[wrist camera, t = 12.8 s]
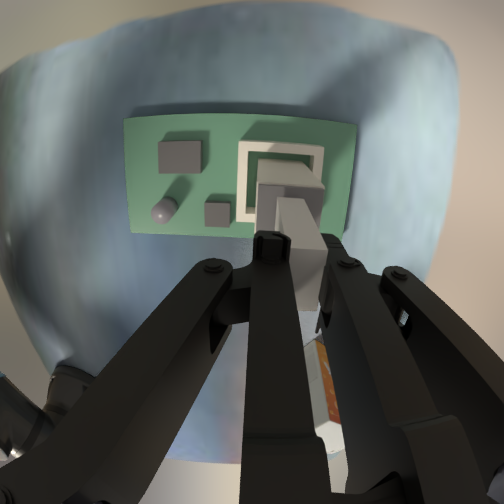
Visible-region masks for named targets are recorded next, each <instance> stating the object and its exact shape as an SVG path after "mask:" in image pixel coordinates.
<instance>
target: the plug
mask: <svg viewBox="0 0 504 504" xmlns="http://www.w3.org/2000/svg"><path fill="white" fill-rule="evenodd" d="M324 190H325V186H324V185H323V184H322V183H321V182H320V180H319V179H318V178H317V177H316V176H315V175H314V174H313V173H312V171H311V170H310V169H309V168H308V167H307V166H306V165H305V164H304V163H303V162H302V161H295V160H282V159H266V158H258V170H257V187H256V207H255V227H254V234H255V233H256V232H257V231H258V230H265V231H275V220H276V207H277V197H286V198H300V199H304V200H305V202H306V204H307V206H308V208H309V210H310V213H311V215H312V217H313V219H314V221H315V223H316V225H317V227H318V229H320V222H321V214H322V206H323V198H324Z"/></svg>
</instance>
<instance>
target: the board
mask: <svg viewBox="0 0 504 504" xmlns="http://www.w3.org/2000/svg"><path fill="white" fill-rule="evenodd" d="M123 131H124V160H125V177H126V190H127V201H128V211H129V220H130V229H131V233H153V234H177V235H200V236H222V237H242V238H254V227H255V207H256V187H257V170H258V158H266V159H282V160H295V161H302V162H303V163H304V164H305V165H306V166H307V167H308V168H309V169H310V170H311V171H312V173H313V174H314V175H315V176H316V177H317V178H318V179H319V180H320V182H321V183H322V184H323V185H324V186H325V190H324V198H323V206H322V214H321V222H320V229H319V231H320V233H328V234H333V235H335V236H336V237H338V238H339V240H340V241H341V242H342V236H343V230H344V224H345V218H346V212H347V206H348V199H349V192H350V185H351V177H352V170H353V161H354V153H355V143H356V133H357V125H355V124H348V123H342V122H335V121H327V120H319V119H311V118H301V117H290V116H277V115H261V114H232V113H203V114H174V115H157V116H145V117H134V118H125V119H123Z"/></svg>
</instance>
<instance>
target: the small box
mask: <svg viewBox="0 0 504 504" xmlns="http://www.w3.org/2000/svg"><path fill="white" fill-rule="evenodd" d="M304 354H305V361H306V367H307V374H308V381H309V389H310V396H311V404H312V411H313V419H314V427H315V432H316V434H317V436H319V437H322V439H323V441H324V443H325V448H326V452H327V453H329V454H333V453H335V452H338V451H340V450H342V449H344V448H345V445H344V439H343V433H342V428H341V422H340V417H339V411H338V406H337V401H336V396H335V391H334V386H333V381H332V376H331V372H330V367H329V362H328V358H327V353H326V348H325V345H323V344H321V343H320V342H318V341H317V340H315V339H314V340H313V341H311V342H310V343H309V344H308V345H306V346H305V347H304Z"/></svg>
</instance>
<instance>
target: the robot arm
mask: <svg viewBox="0 0 504 504" xmlns="http://www.w3.org/2000/svg"><path fill="white" fill-rule="evenodd" d="M318 301H319V302H320V306H321V308H320V312H319V317H318V321H317V326H316V331H315V333H318V331H319V329H320V328H321V331H322V335H323V340H324V344H325V348H326V353H327V358H328V362H329V367H330V372H331V376H332V381H333V386H334V391H335V396H336V401H337V406H338V411H339V417H340V422H341V428H342V433H343V439H344V445H345V451H346V456H347V463H348V477H347V481H346V487H345V494H344V493H332V492H331V484H330V476H329V468H328V460H327V452H326V448H325V443H324V441H323V439H322V437H319V436H317V434H316V432H315V427H314V419H313V411H312V404H311V396H310V389H309V381H308V374H307V367H306V361H305V354H304V347H303V341H302V334H301V328H300V322H299V316H298V311H317V306H318ZM404 310H405V311H406V313H407V314H408V315H409V316H408V319H407V321H406V323H405V325H403V324H402V323H401V322H400V319H401V317H402V314H403V312H404ZM243 322H249V334H248V352H247V370H246V389H245V407H244V425H243V441H242V459H241V477H240V495H239V504H504V362H503V361H502V360H501V359H500V357H498V355H497V354H496V353H495V352H494V351H493V350H492V349H491V348H490V347H489V346H488V345H487V344H486V343H485V342H484V340H483V339H482V338H481V337H480V336H479V335H478V334H477V333H476V332H475V331H474V330H473V329H471V327H469V325H468V324H467V323H466V322H465V321H464V320H462V318H460V317H459V316H458V315H457V314H456V313H455V312H454V311H453V310H452V309H451V308H450V307H449V306H448V305H447V304H445V302H444V301H443V300H441V299H440V298H439V297H438V296H437V295H436V294H435V293H434V292H433V291H431V290H430V289H429V288H428V287H427V286H426V285H425V284H424V283H423V282H421V281H420V280H419V279H418V278H417V277H416V276H415V275H413V274H412V273H411V272H409V271H408V270H406V269H404V268H403V267H400V266H399V267H398V266H389V267H386V268H385V269H384V270H383V273H382V276H380V275H375V274H371V273H368V272H367V270H366V269H365V267H364V265H363V264H362V263H361V262H360V261H359V260H357V259H355V258H352V257H349V255H348V254H347V252H346V250H345V248H344V247H343V245H342V243H341V241H340V240H339V238H338V237H336V236H335V235H333V234H328V233H320V231H319V229H318V227H317V225H316V223H315V221H314V219H313V217H312V215H311V213H310V210H309V208H308V206H307V204H306V202H305V200H304V199H300V198H286V197H277V207H276V220H275V231H265V230H258V231H257V232H256V233H255V234H254V240H253V260H252V262H251V263H250V264H249V265H247V266H245V267H242V268H237V269H233V267H232V265H231V263H229V262H228V261H226V260H222V259H216V258H211V259H210V258H209V259H205V260H202V261H200V262H198V263H197V264H196V265H195V266H194V267H193V268H192V269H191V270H190V271H189V272H188V273H187V274H186V275H185V277H184V278H183V279H182V280H181V281H180V282H179V283H178V284H177V285H176V286H175V288H174V289H173V290H172V291H171V292H170V293H169V294H168V295H167V296H166V298H165V299H164V300H163V301H162V302H161V303H160V304H159V305H158V307H157V308H156V309H155V310H154V311H153V312H152V313H151V314H150V316H149V317H148V318H147V319H146V320H145V321H144V322H143V323H142V325H141V326H140V327H139V328H138V329H137V330H136V331H135V333H134V334H133V335H132V336H131V337H130V338H129V340H128V341H127V342H126V343H125V344H124V345H123V347H122V348H121V349H120V350H119V351H118V352H117V354H116V355H115V356H114V357H113V358H112V359H111V361H110V362H109V363H108V364H107V365H106V366H105V368H104V369H103V370H102V371H101V372H100V374H99V375H98V376H97V377H96V378H94V377H92V376H91V375H89V374H87V373H85V372H83V371H81V370H79V369H76V368H73V367H70V366H58V367H57V368H56V369H55V370H54V372H53V373H52V375H51V377H50V384H49V388H48V395H47V401H46V404H45V406H44V408H43V410H41V409H40V408H39V407H38V406H37V405H35V404H34V403H33V402H32V401H31V400H30V399H29V398H28V397H27V396H25V395H24V394H23V393H22V392H21V391H20V390H19V389H18V388H17V387H16V386H15V385H14V384H13V383H12V382H11V381H10V380H9V379H8V378H7V377H6V375H5V374H3V373H1V371H0V461H4V460H7V459H8V457H9V454H12V455H13V456H14V457H16V459H15V460H13V461H11V462H10V463H8V464H6V465H5V466H3V467H1V468H0V504H138V503H139V501H140V500H141V498H142V497H143V495H144V494H145V492H146V490H147V488H148V486H149V485H150V483H151V481H152V479H153V478H154V476H155V474H156V472H157V470H158V468H159V467H160V465H161V462H162V461H163V459H164V457H165V456H166V454H167V452H168V450H169V448H170V446H171V444H172V443H173V441H174V439H175V437H176V435H177V433H178V431H179V430H180V428H181V426H182V424H183V422H184V420H185V418H186V416H187V415H188V413H189V411H190V409H191V407H192V405H193V403H194V401H195V399H196V397H197V396H198V394H199V392H200V390H201V388H202V386H203V384H204V382H205V380H206V378H207V376H208V375H209V373H210V371H211V369H212V367H213V365H214V363H215V361H216V359H217V357H218V355H219V353H220V351H221V349H222V347H223V345H224V344H225V342H226V340H227V338H228V336H229V334H230V332H231V329H232V324H238V323H243Z"/></svg>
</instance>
